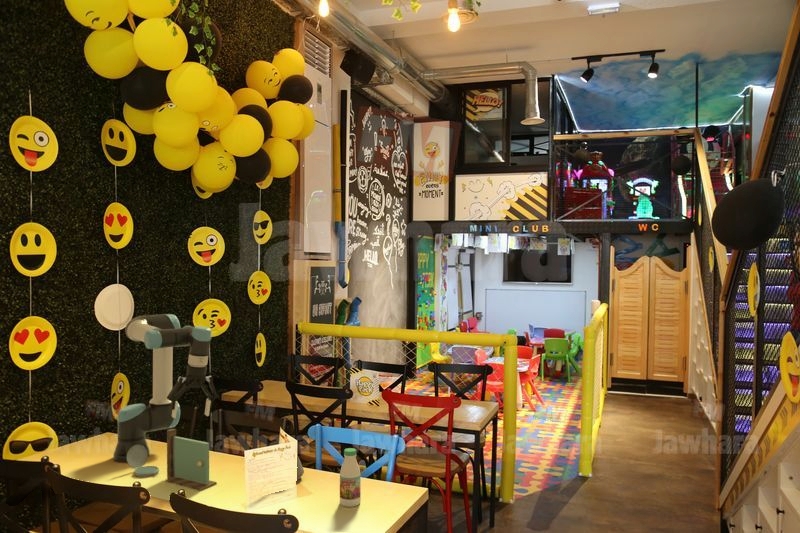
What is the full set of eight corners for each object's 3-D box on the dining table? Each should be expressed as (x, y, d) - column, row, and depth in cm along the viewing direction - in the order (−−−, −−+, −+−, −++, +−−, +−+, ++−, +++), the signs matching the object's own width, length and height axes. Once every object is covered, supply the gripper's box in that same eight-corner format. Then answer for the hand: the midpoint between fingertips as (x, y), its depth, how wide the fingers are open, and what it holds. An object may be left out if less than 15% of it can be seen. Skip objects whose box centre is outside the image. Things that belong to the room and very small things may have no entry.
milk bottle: (339, 499, 228) (339, 446, 228) (360, 498, 229) (360, 446, 228) (339, 507, 220) (339, 453, 220) (360, 507, 221) (360, 452, 221)
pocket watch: (145, 442, 264) (167, 447, 256) (145, 466, 264) (167, 473, 256) (124, 448, 256) (146, 454, 248) (124, 473, 256) (146, 480, 248)
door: (168, 477, 247) (168, 438, 247) (175, 474, 250) (175, 436, 250) (202, 485, 238) (202, 445, 238) (209, 482, 241) (209, 442, 241)
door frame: (162, 480, 247) (162, 431, 247) (177, 474, 254) (177, 427, 254) (201, 490, 237) (201, 439, 236) (216, 484, 244) (216, 434, 243)
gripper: (169, 367, 235) (162, 421, 236) (230, 366, 251) (223, 417, 251) (163, 363, 241) (156, 415, 241) (223, 362, 256) (216, 411, 257)
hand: (190, 416), depth 246 cm, fingers open, 13 cm apart
